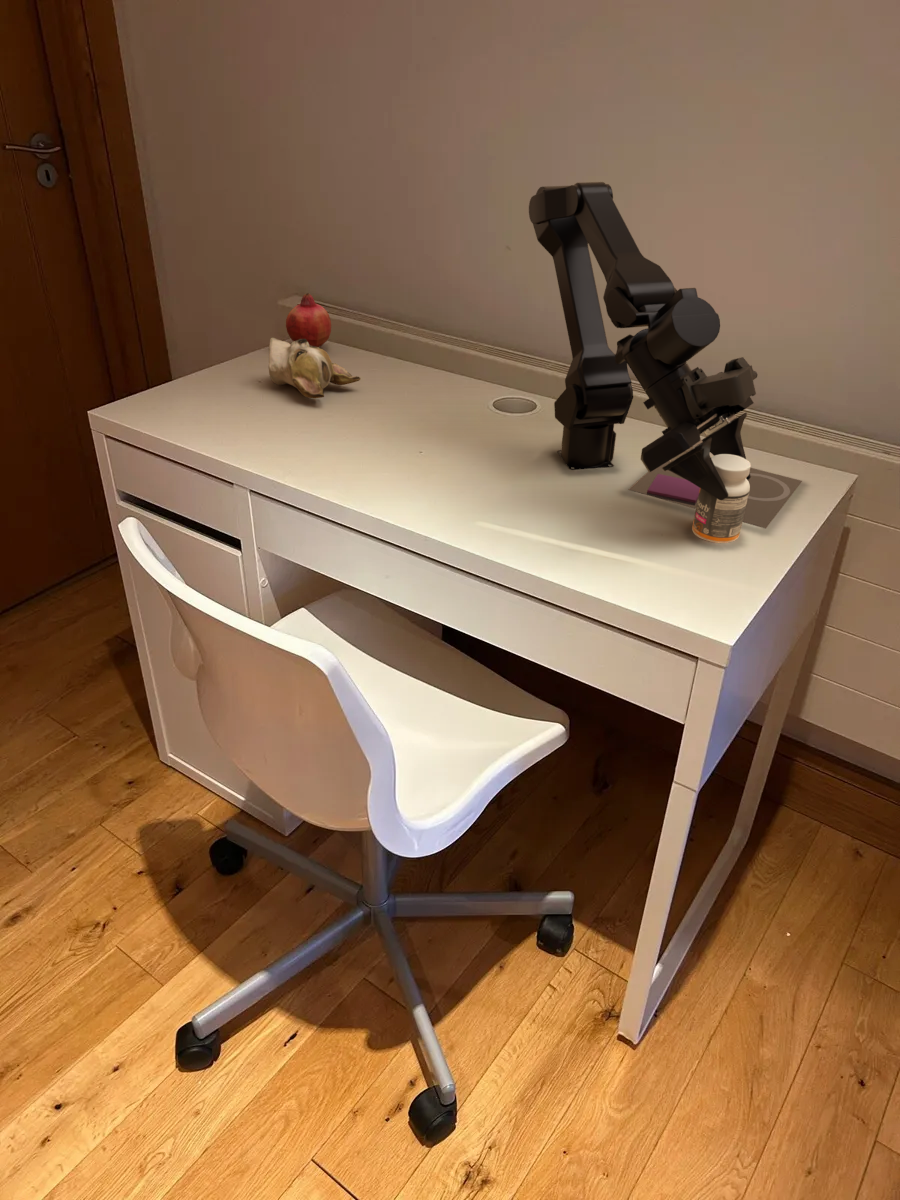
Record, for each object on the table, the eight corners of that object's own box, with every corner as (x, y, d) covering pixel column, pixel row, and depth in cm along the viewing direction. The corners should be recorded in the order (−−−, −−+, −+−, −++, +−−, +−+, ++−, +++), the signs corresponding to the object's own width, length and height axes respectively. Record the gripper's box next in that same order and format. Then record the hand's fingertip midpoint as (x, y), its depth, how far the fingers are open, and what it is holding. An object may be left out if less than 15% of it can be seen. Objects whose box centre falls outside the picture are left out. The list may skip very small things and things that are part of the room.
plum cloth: (695, 503, 121) (695, 500, 121) (646, 492, 123) (647, 490, 123) (704, 486, 125) (705, 483, 125) (657, 476, 127) (657, 473, 127)
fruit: (342, 349, 171) (339, 293, 165) (309, 359, 165) (306, 302, 160) (311, 339, 175) (308, 285, 169) (278, 349, 170) (274, 293, 164)
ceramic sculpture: (292, 320, 155) (363, 343, 149) (294, 369, 160) (362, 394, 154) (247, 336, 148) (319, 361, 141) (250, 388, 153) (320, 414, 146)
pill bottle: (685, 525, 117) (699, 451, 112) (729, 524, 118) (745, 451, 112) (699, 547, 112) (714, 472, 107) (745, 546, 113) (762, 471, 107)
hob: (764, 532, 116) (765, 528, 116) (627, 493, 124) (627, 489, 124) (801, 484, 128) (802, 480, 127) (673, 451, 136) (674, 447, 136)
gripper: (682, 360, 98) (761, 486, 98) (753, 321, 110) (822, 433, 111) (607, 413, 106) (681, 528, 107) (681, 371, 119) (746, 474, 119)
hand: (736, 489), depth 111 cm, fingers open, 6 cm apart
